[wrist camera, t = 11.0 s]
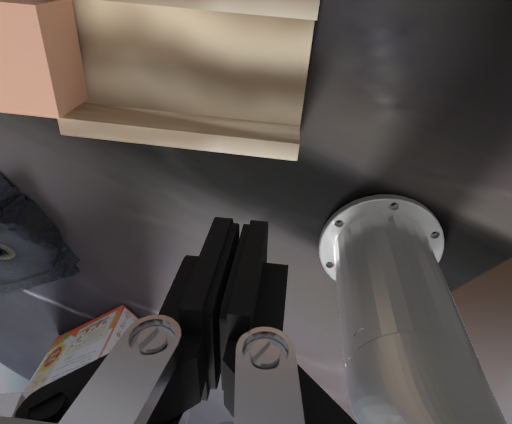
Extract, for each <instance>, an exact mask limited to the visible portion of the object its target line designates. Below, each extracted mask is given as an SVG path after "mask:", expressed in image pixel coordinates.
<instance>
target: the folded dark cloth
mask: <svg viewBox="0 0 512 424" xmlns="http://www.w3.org/2000/svg"><path fill="white" fill-rule="evenodd" d="M17 195H19V196H17ZM78 261H79V258H78V257H77V256H76V255H75V254H74V253H73V252H72V251H71V249H70V248H69V247H68V246H67V245H66V244H65V243H64V242H63V240H62V239H61V236H60V233H59V230H58V229H57V227H56V226H55V225H54V224H53V223H52V221H51V220H50V219H49V218H48V217H47V216H46V215H45V214H44V213H43V211H42V210H41V209H40V208H39V207H38V206H37V205H36V203H35V202H34V201H32V200H30V199H27V198H26V196H25V194H23V195H21V194H20V191H19V190H18V189H17V188H16V186H11V185H10V184H9V182H8V181H7V180H5V179H4V178H3V176H2V175H0V295H5V294H7V293H13V292H18V291H21V290H24V289H30V288H32V287H34V286H38V285H41V284H44V283H47V282H51V281H54V280H57V279H59V278H64V277H66V276H71V275H74V274H76V273H78V272H79V270H78V268H77V267H75V266H76V262H78Z"/></svg>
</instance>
